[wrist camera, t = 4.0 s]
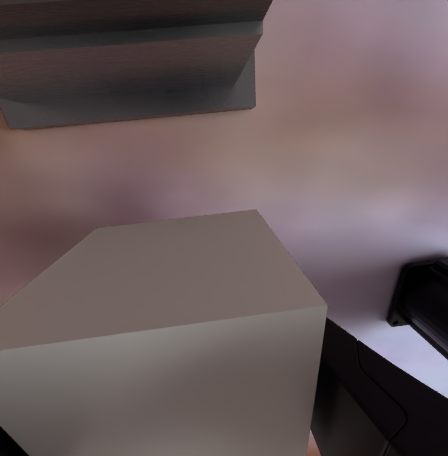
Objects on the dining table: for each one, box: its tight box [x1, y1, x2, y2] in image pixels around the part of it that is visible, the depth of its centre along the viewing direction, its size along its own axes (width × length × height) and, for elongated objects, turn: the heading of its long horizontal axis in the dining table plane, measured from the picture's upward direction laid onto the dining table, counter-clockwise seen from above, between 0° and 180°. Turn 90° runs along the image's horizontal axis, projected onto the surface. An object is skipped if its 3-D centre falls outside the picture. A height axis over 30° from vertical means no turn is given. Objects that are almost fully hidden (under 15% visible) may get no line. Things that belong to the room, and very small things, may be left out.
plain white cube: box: [0, 210, 328, 456], centre depth 7 cm, size 6×6×5 cm
